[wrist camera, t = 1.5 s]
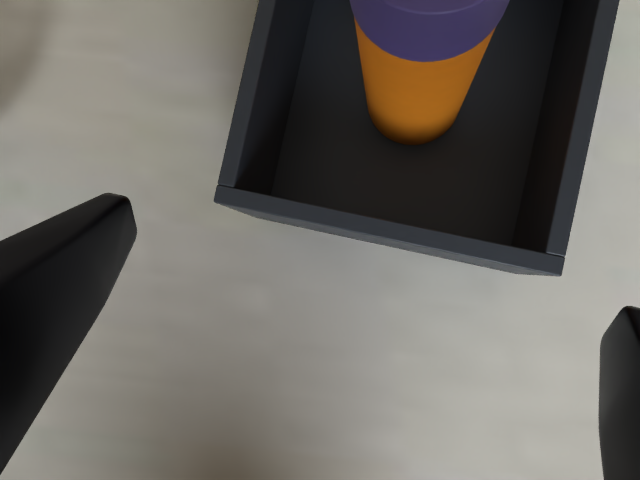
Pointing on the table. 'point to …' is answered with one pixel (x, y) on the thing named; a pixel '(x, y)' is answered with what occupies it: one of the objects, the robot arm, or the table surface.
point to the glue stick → (421, 61)
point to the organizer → (429, 158)
